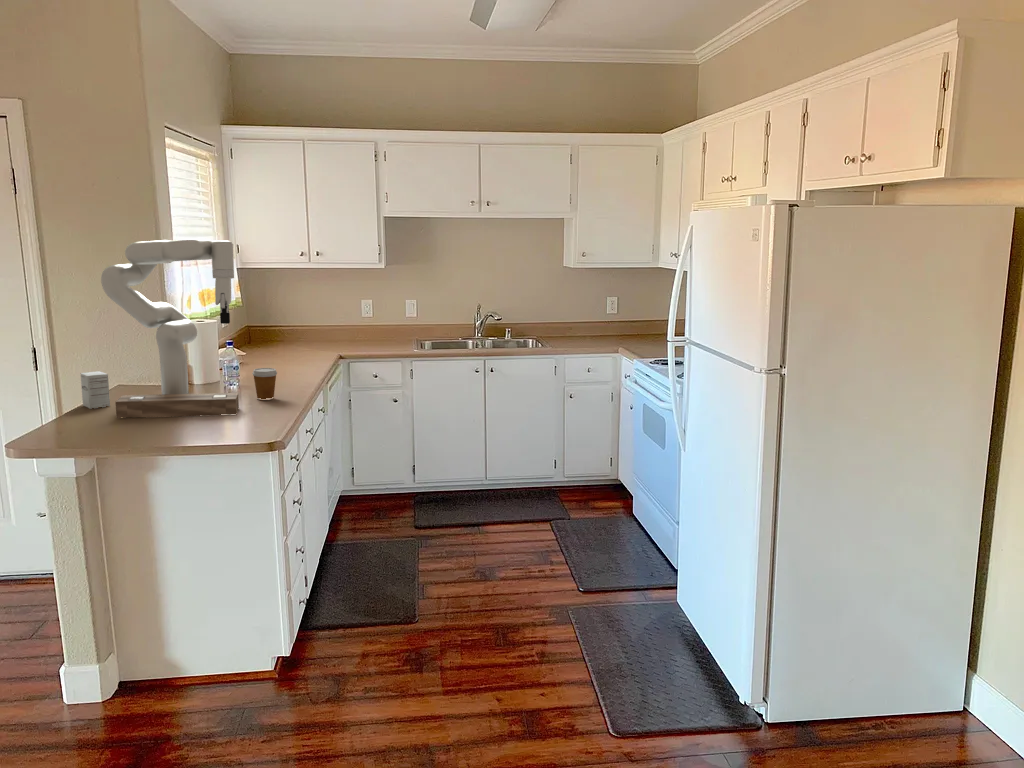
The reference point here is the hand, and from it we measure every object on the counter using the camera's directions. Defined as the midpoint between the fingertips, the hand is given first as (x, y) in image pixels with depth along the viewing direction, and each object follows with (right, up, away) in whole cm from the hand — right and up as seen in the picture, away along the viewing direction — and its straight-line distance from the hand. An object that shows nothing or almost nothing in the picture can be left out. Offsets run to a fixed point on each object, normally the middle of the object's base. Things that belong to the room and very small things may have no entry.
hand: (225, 323), depth 285 cm
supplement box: (-48, -31, 0) cm, 58 cm away
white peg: (0, -33, -4) cm, 33 cm away
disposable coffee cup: (+8, -29, +21) cm, 37 cm away
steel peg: (-27, -34, -11) cm, 45 cm away
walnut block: (-14, -34, -7) cm, 37 cm away
